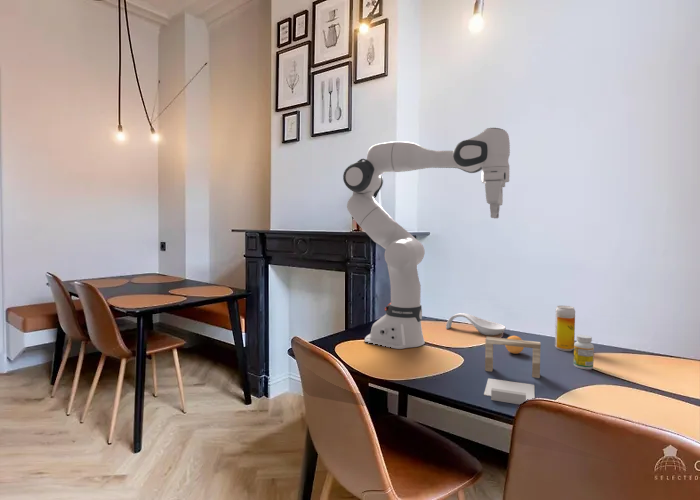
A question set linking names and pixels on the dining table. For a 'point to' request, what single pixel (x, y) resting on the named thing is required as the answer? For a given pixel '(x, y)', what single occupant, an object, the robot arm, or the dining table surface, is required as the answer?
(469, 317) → the spoon rest
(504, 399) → the block
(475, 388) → the dining table surface
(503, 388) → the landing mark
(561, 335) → the orange yellow canister
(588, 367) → the supplement bottle
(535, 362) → the bridge
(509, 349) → the ball
